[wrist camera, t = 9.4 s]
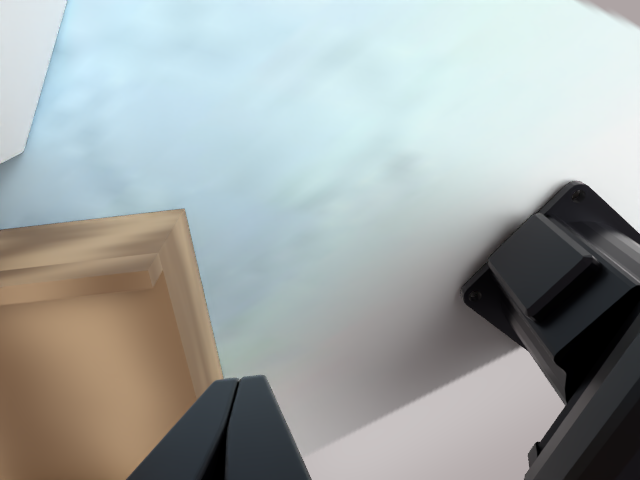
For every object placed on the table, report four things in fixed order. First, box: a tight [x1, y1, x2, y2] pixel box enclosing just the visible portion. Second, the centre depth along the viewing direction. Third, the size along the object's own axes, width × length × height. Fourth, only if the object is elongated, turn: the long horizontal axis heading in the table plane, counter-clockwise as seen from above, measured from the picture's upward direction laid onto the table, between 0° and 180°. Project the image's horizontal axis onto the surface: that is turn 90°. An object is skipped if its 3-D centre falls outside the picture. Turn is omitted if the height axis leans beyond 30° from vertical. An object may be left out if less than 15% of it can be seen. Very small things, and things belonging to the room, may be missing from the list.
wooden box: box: [0, 209, 224, 480], centre depth 20 cm, size 13×10×5 cm
